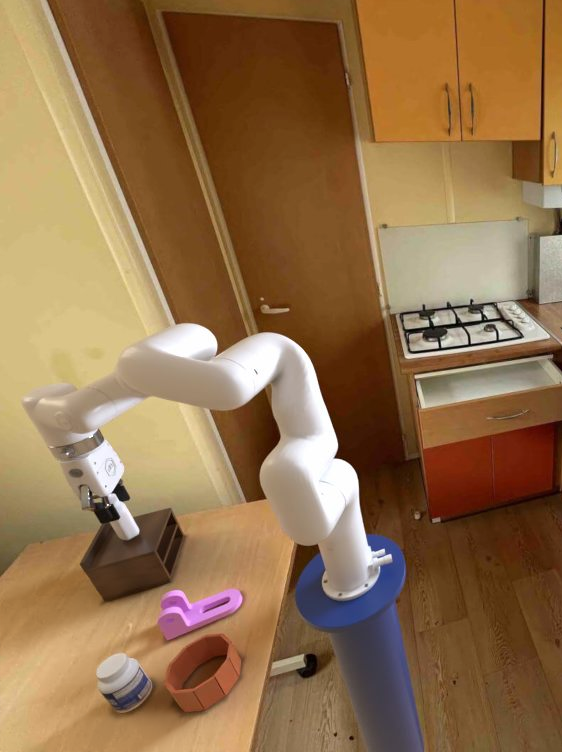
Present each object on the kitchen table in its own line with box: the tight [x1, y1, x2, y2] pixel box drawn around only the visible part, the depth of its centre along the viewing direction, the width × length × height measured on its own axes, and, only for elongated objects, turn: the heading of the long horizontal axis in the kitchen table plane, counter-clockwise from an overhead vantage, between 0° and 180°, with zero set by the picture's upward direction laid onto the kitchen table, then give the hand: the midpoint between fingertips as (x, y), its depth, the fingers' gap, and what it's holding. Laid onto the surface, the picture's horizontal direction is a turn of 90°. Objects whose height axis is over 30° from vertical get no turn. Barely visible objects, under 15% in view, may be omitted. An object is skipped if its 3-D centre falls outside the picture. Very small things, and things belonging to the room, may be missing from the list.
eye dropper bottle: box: [100, 494, 139, 540], centre depth 92 cm, size 4×6×12 cm
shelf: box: [79, 507, 186, 602], centre depth 97 cm, size 12×14×12 cm
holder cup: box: [163, 632, 242, 713], centre depth 76 cm, size 10×10×6 cm
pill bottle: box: [95, 652, 153, 714], centre depth 73 cm, size 5×5×10 cm
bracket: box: [156, 588, 243, 641], centre depth 88 cm, size 13×6×7 cm, turn 120°
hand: (116, 510), depth 91 cm, fingers closed on eye dropper bottle, 5 cm apart
